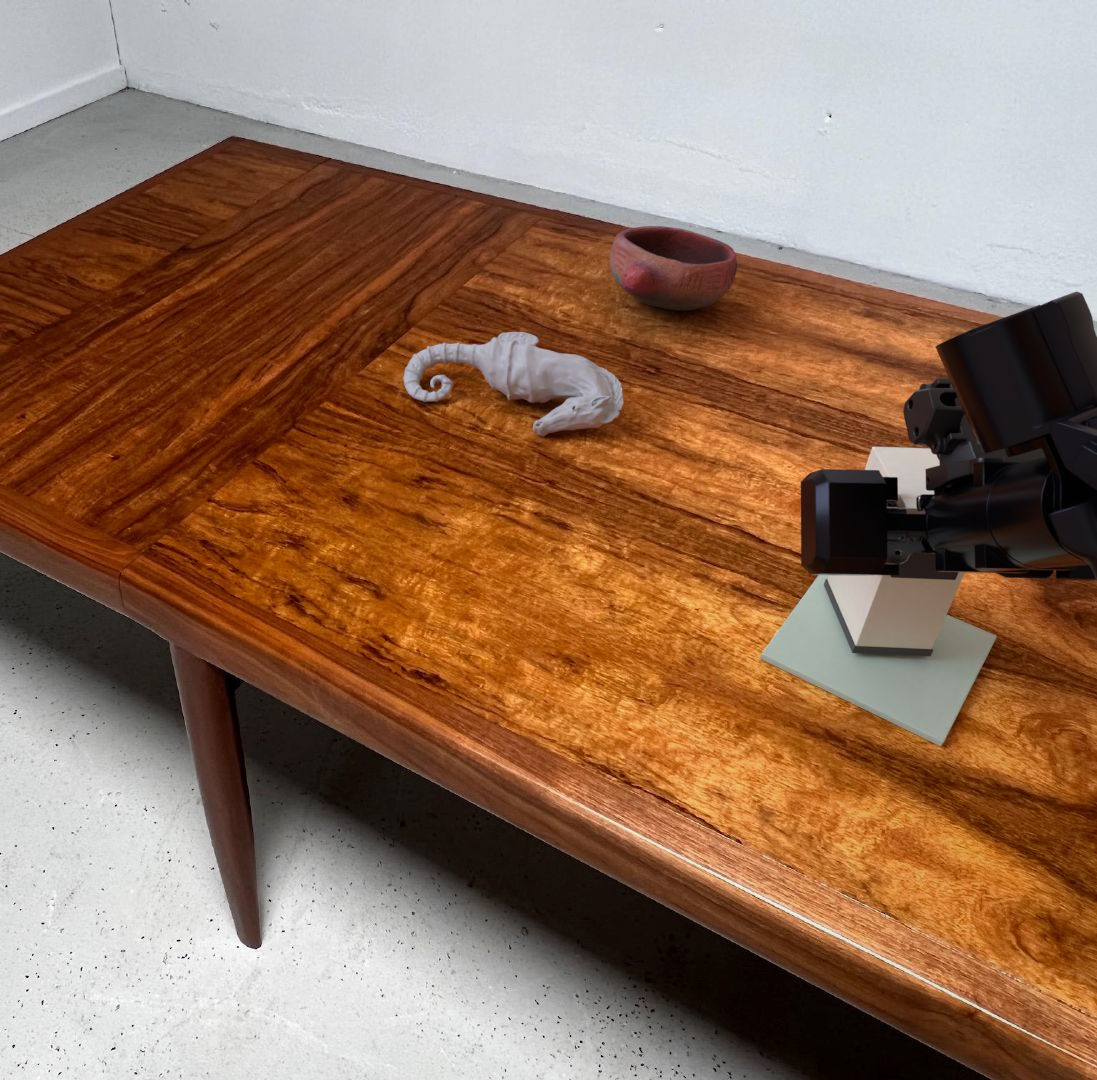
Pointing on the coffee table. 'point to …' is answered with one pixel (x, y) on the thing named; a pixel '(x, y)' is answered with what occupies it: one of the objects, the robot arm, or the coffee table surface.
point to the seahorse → (527, 379)
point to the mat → (882, 667)
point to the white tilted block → (896, 577)
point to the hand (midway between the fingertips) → (896, 535)
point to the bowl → (672, 267)
